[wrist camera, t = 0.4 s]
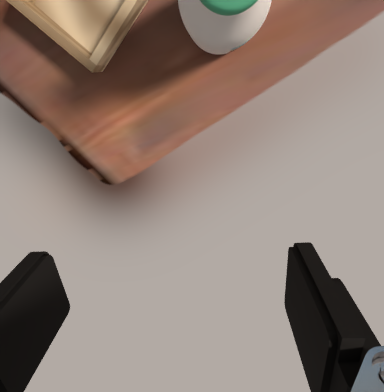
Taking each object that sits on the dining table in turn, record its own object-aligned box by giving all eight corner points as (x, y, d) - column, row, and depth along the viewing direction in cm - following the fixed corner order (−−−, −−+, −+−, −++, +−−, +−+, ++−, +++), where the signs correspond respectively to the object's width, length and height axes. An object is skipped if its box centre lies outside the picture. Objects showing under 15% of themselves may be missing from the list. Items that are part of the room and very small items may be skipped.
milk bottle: (205, 67, 35) (199, 69, 17) (175, 2, 32) (130, -79, 14) (263, 33, 33) (328, -5, 15) (236, -39, 30) (276, -193, 12)
